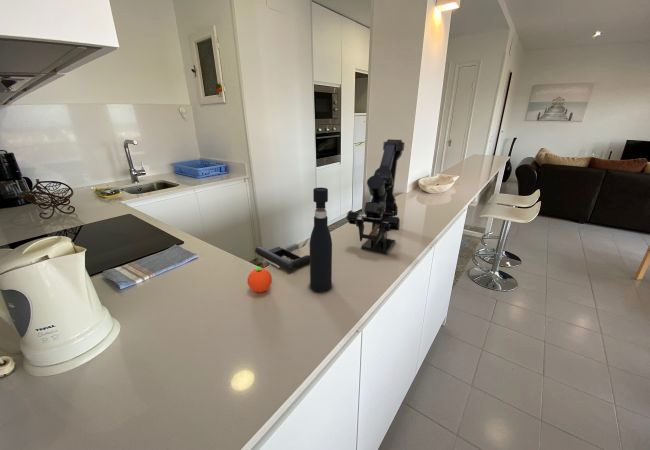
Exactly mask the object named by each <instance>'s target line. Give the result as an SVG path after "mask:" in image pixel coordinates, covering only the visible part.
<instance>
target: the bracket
mask: <svg viewBox="0 0 650 450" xmlns="http://www.w3.org/2000/svg"><path fill="white" fill-rule="evenodd" d="M385 219H388V218H387V217H386V218H385ZM375 226H376V223H371V231H372V230H373V229H374V227H375ZM378 231H379V229H378V230H377V231H376V232H375V234H374V235H373V236H376V237H377V234H378ZM395 244H396V239H391V238H388V231H386V232H385V234H384V235H383V236H382V237H381V238H380V240H379V241H378V243H377V244H375V240H370V239H366V241H364V243H363V244H362V245H361V247H360V249H361V250H364V251H369V252H373V253H378V254H383V255H387V254H388V253H389V252H390V251H391V249H392V247H393V246H394V245H395Z"/></svg>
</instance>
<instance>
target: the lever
mask: <svg viewBox="0 0 650 450" xmlns="http://www.w3.org/2000/svg"><path fill="white" fill-rule="evenodd" d="M379 227H380V224H377V223H376V226H375V227H374V229H373V230H372V229H371V231H370V233H369V234H365V233H363V235H362V239H365V240H368V239H370V240H375V241H376V236H373V235H374V234H375V232H376V231H377V230H378V231H379Z"/></svg>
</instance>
